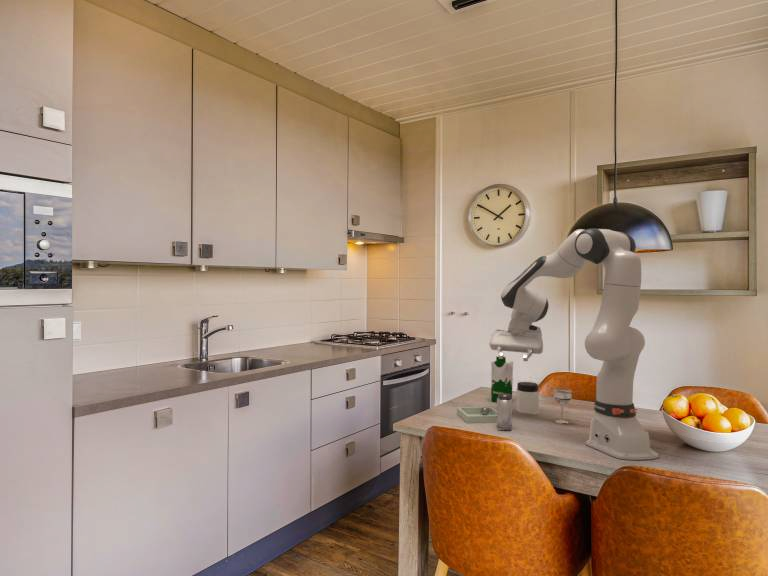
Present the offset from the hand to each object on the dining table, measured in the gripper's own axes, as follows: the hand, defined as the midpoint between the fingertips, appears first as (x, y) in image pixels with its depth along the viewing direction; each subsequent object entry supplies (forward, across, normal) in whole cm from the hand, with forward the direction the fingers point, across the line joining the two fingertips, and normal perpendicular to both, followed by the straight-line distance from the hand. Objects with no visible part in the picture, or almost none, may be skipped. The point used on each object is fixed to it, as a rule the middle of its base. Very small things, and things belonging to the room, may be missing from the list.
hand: (512, 359), depth 199 cm
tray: (+20, -11, +14) cm, 27 cm away
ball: (+16, -10, +17) cm, 25 cm away
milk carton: (-5, -11, +39) cm, 41 cm away
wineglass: (+11, +18, +23) cm, 31 cm away
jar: (+6, +3, +28) cm, 29 cm away
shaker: (+26, 0, +8) cm, 27 cm away
